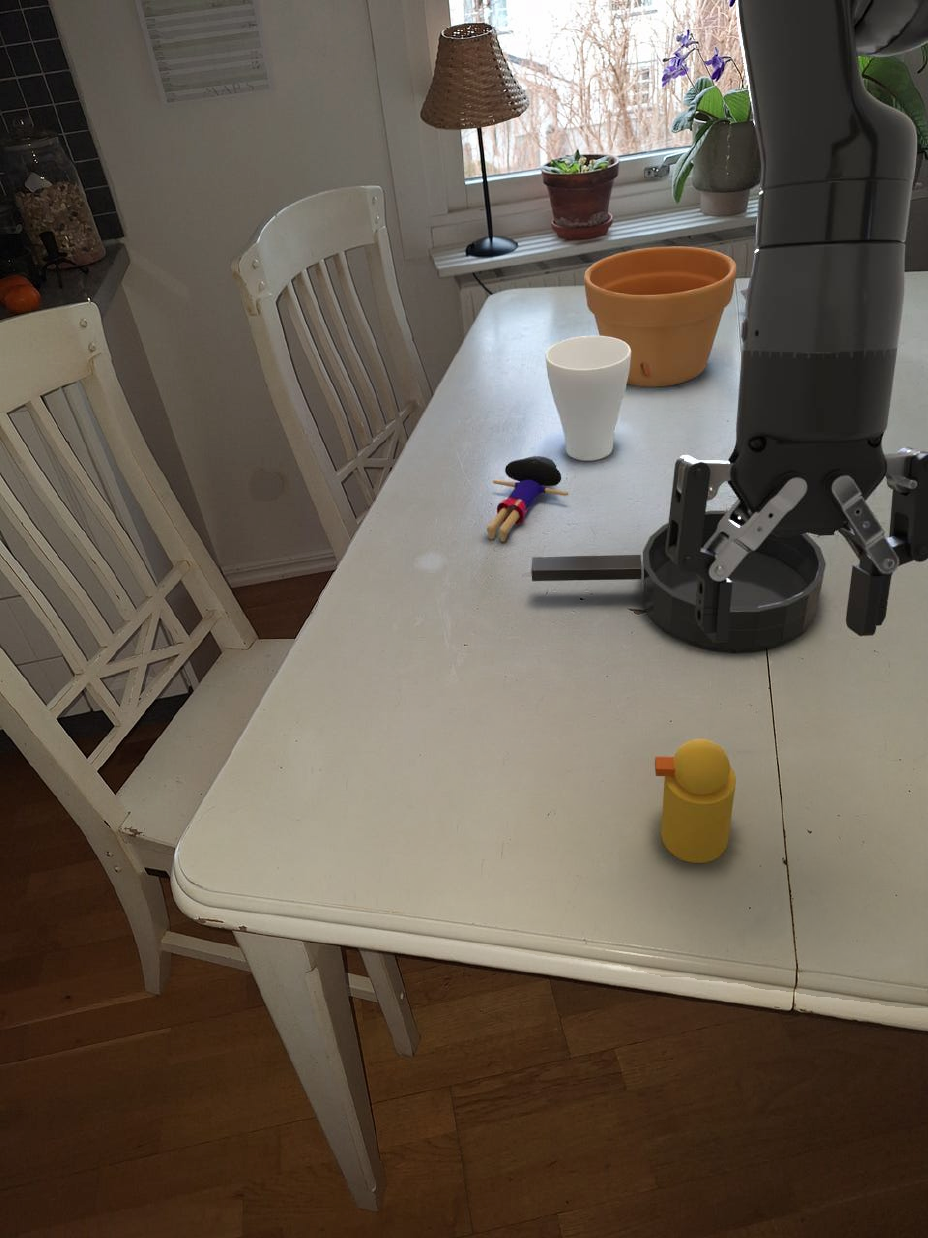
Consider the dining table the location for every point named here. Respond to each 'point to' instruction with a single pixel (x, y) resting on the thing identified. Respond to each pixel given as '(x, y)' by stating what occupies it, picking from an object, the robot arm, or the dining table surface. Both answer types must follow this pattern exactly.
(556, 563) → the pan handle
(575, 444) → the cup
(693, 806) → the yellow duck figurine
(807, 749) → the dining table surface
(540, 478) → the toy
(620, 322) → the flower pot
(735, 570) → the pan
